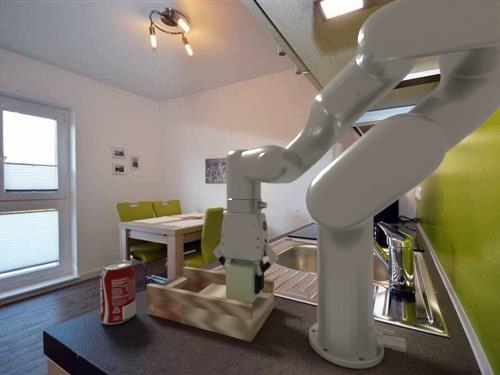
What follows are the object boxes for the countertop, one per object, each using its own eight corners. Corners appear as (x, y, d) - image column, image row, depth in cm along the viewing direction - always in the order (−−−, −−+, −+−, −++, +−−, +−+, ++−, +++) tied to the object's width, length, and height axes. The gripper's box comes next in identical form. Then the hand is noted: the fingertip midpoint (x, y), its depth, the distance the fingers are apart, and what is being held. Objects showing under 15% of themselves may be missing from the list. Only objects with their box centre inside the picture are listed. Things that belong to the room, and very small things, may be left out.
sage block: (262, 291, 55) (262, 260, 55) (251, 303, 50) (251, 268, 50) (238, 287, 58) (238, 257, 58) (226, 298, 52) (225, 265, 52)
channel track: (274, 307, 58) (274, 280, 58) (250, 341, 45) (250, 307, 45) (185, 289, 69) (185, 266, 69) (146, 313, 56) (146, 285, 56)
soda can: (142, 315, 55) (141, 262, 55) (112, 331, 49) (111, 271, 49) (124, 308, 58) (123, 258, 58) (94, 321, 53) (93, 266, 53)
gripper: (286, 206, 53) (287, 288, 54) (218, 204, 60) (219, 277, 61) (276, 209, 47) (277, 304, 47) (201, 207, 53) (201, 289, 54)
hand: (244, 288), depth 54 cm, fingers closed on sage block, 5 cm apart
